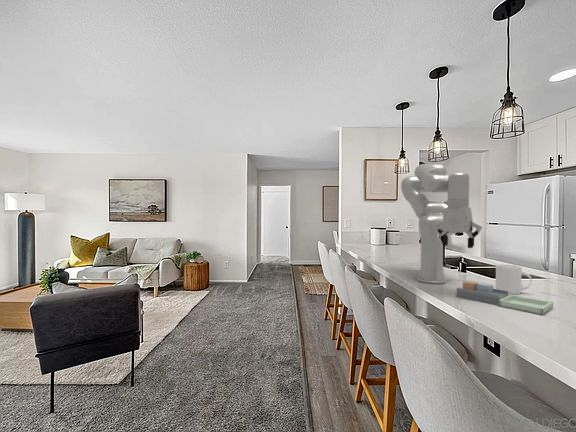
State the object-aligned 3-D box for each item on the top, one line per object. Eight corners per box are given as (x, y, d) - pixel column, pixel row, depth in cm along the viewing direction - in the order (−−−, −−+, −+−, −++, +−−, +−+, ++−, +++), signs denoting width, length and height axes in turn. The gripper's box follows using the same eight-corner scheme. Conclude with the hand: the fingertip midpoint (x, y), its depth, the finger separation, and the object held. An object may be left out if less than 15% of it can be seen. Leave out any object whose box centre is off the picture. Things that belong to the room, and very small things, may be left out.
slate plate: (456, 296, 120) (456, 287, 120) (467, 292, 127) (467, 284, 127) (498, 305, 109) (498, 295, 109) (508, 300, 116) (508, 291, 116)
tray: (497, 306, 109) (497, 300, 109) (510, 300, 116) (510, 294, 116) (542, 315, 99) (542, 309, 99) (552, 308, 107) (552, 302, 107)
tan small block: (462, 289, 121) (462, 282, 121) (467, 288, 124) (467, 280, 124) (474, 291, 118) (474, 283, 118) (478, 290, 121) (478, 282, 121)
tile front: (476, 292, 118) (477, 284, 118) (481, 290, 120) (481, 282, 120) (488, 294, 114) (489, 286, 114) (493, 292, 117) (493, 284, 117)
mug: (533, 296, 121) (534, 269, 121) (496, 292, 127) (497, 266, 127) (529, 291, 129) (529, 265, 129) (494, 288, 135) (494, 263, 135)
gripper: (432, 204, 130) (431, 245, 130) (477, 203, 116) (477, 249, 117) (440, 204, 135) (440, 244, 135) (485, 204, 121) (485, 248, 121)
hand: (457, 246), depth 126 cm, fingers open, 9 cm apart
